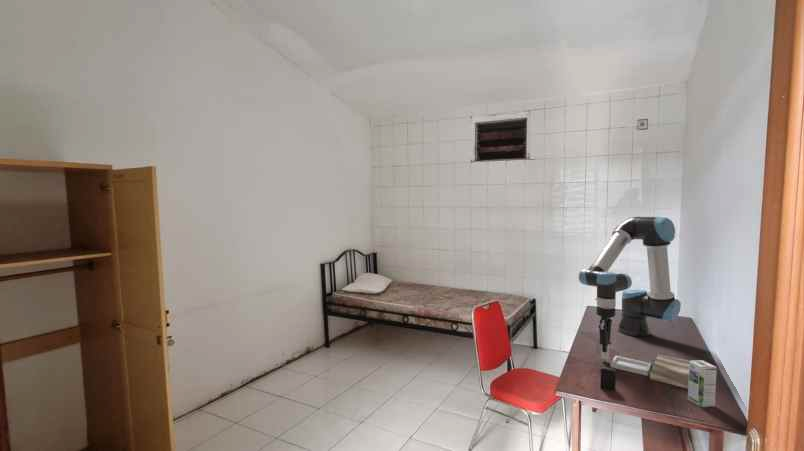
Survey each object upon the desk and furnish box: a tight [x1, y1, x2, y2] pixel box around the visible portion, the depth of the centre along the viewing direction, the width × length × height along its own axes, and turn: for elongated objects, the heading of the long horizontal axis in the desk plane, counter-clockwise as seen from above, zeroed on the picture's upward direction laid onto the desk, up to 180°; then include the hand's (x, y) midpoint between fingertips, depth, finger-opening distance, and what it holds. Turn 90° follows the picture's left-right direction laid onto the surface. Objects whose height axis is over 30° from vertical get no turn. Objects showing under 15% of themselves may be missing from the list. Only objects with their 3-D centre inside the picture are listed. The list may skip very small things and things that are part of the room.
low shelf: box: [649, 353, 690, 389], centre depth 158 cm, size 16×14×6 cm
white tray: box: [609, 355, 652, 377], centre depth 167 cm, size 10×14×2 cm
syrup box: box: [687, 359, 717, 408], centre depth 137 cm, size 6×6×14 cm
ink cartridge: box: [599, 366, 617, 392], centre depth 149 cm, size 5×2×8 cm, turn 52°
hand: (604, 358), depth 174 cm, fingers closed
